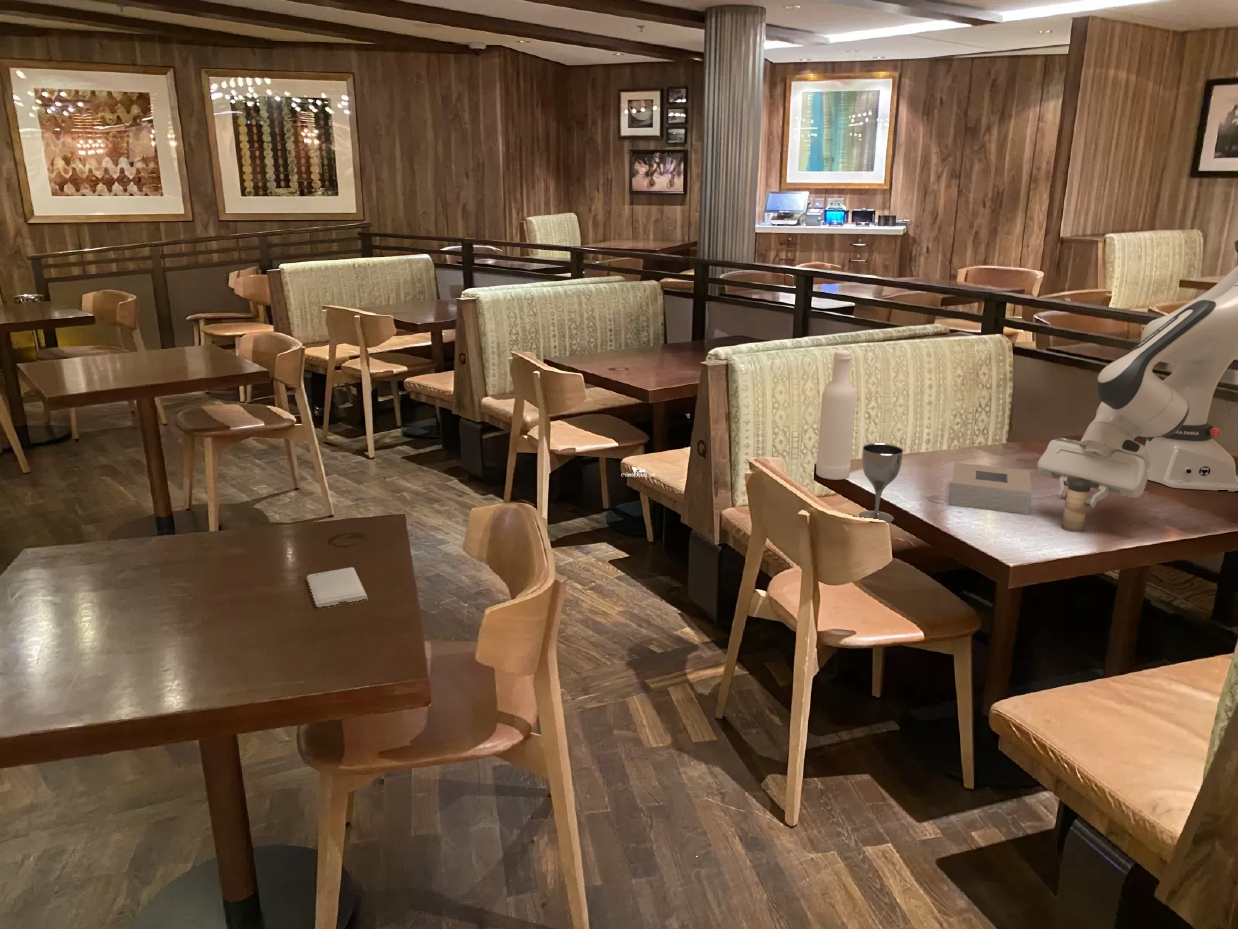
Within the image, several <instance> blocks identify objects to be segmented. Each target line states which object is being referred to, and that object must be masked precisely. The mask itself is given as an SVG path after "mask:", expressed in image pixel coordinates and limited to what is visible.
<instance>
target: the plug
mask: <svg viewBox="0 0 1238 929" xmlns="http://www.w3.org/2000/svg"><path fill="white" fill-rule="evenodd" d="M1090 487H1091V482H1089V481H1086V480H1082V479H1070V480H1069V484H1068V486H1067V496H1066V500H1065V503H1064V509H1063V513H1062V514H1063V516H1062V519H1061V525H1060V526H1061V529H1063V530H1065V531H1067V532H1068V531H1069V532H1073V531H1080V532H1082V531H1084V526H1085V520H1086V515H1087V508H1088V506H1086V504H1085V500H1086V499H1087V497H1088V495H1090V492H1091V488H1090Z"/></svg>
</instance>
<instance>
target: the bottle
mask: <svg viewBox="0 0 1238 929" xmlns="http://www.w3.org/2000/svg"><path fill="white" fill-rule="evenodd" d="M851 353H852V352H851V351H850V350H846V349H844V350H843V349H837V350H835V351H834V355H833V368H832V370H833V371H832V380H831V381H830V382H829V383H828V384H826V385H825V386H824V389H823V391H822V395H821V403H820V405H821V406H820V417H819V429H818V430H819V431H818V440H817V442H818V444H817V456H816V462H815V463H816V464H815V468H816V469H815V470H816V471H815V473H816V475H817V476H818V477H820V478H823V479H826V480H833V481H834V480H835V481H836V480H838V481H839V480H846V479H848V478H849V476H850V472H851V464H852V463H851V461H852V460H851V459H852V448H853V438H854V425H855V417H856V416H855V415H856V403H857V394H856V389H855V388H854V386H853V385H852V384H851V382H850V381H849V376H850V365H851V359H852V357H851V355H852V354H851Z"/></svg>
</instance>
